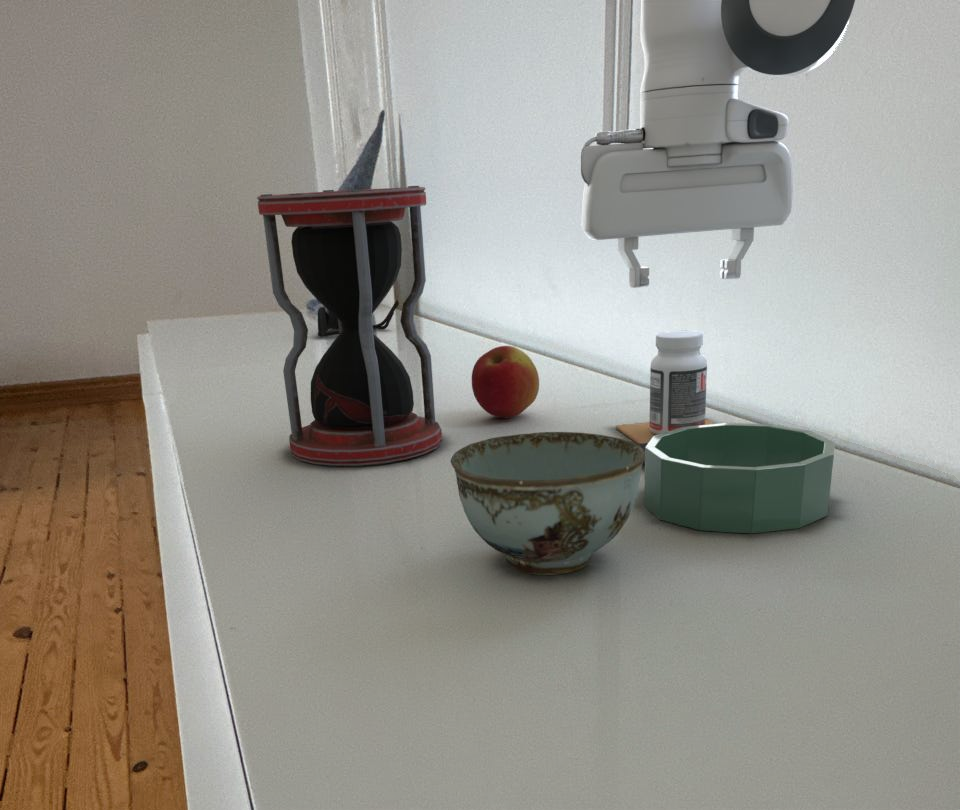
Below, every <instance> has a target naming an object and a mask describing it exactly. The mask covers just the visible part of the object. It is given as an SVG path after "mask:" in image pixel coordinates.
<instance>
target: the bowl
mask: <svg viewBox="0 0 960 810" xmlns="http://www.w3.org/2000/svg"><path fill="white" fill-rule="evenodd" d="M637 444H638V443H636V442H633V441H629V440H628V439H624V438H620V437H619V438H618V437H615V436H610V435H605V434H599V433H598V434H596V433H587V432H575V431H574V432H572V431H542V432H540V431H538V432H531V433H517V434H512V435H503V436H496V437H495V436H494V437H490V438H486V439H484V440H479V441H476V442H472V443H470V444H468V445H465V446H464V447H463V446H462V447H461V448H460V449H458V450H457V451H456V452H454V453H453V454H452V455H451V458H450V464H451V466H452V468H453V469H454V473H455V477H456V485H457V490H458V495H459V499H460V503H461V505H462V508H463V512H464V513H465V516H466V519H467V520H468V522H469V524H470V525H471V526H472V528H473V530H474V531H475V533H476V534H477V535H478V536H479V537H480V538H481V540H483V542H485V543H486V544H487V545H488V546H490V547H491V548H492V549H494V550H495V551H497V552H499V553H501V554H502V555H505V559H506V560H505V561H506V563H507V564H508V565H509V566H510V567H511V568H513V569H514V570H515V571H518V572H521V573H526V574H530V575H538V576H554V575H555V576H556V575H563V574H571V573H574V572H577V571H579V570H582V569H583V568H584V567H586V566H587V565H588V564H589V562H591V559H592V555H593V553H595V552H597V551H598V550H600V549H602V548H603V547H604V546H605V545H607V544H608V543H609V542H611V541H612V540H613V539H614V538H615V537H616V536H617V535H618V534H619V532H621V530H622V529H623V527H624V526H625V524H626V523H627V521H628V520H629V518H630V515H631V513H632V511H633V510H634V506H635V503H636V500H637V498H638V492H639V487H640V481H641V473H642V467H643V464H644V463H643V461H644V459H645V455H646V454H645V451H644V450H643V449H642V448H641V447H640V446H639V445H637Z"/></svg>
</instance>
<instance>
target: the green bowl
mask: <svg viewBox="0 0 960 810" xmlns="http://www.w3.org/2000/svg"><path fill="white" fill-rule="evenodd" d="M835 447H836V442H835V441H834V440H832V439H829V438H828V437H825V436H823V435H822V434H820V433H819V434H818V433H816V432H814V431H812V430H807V429H801V428H795V427H789V426H785V425H784V426H783V425H778V424H771V423H770V424H768V423H738V422H737V423H736V422H734V423H733V422H723V423H721V422H720V423H714V424H710V425H700V426H689V427H682V428H678V429H675V430H672V431H668V432H665V433H661V434H658V435H655V436H653V438H652V439H651V440H650V442H649V443H648V444H647V446H646V447H645V454H646V455H645V463H644V477H643V478H644V482H643V483H644V484H643V485H644V486H643V506H644V508H646V509H647V510H648V511H649V512H650V513H652V514H653V515H654V516H655V517H656V518H657V519H658V520H660V521H662V522H663V521H664V522H667V523H671V524H674V525H678V526H682V527H686V528H690V529H693V530H697V531H702V532H703V531H704V532H716V533H717V532H718V533H719V532H720V533H733V534H734V533H737V534H750V535H751V534H752V535H753V534H761V533H769V532H778V531H786V530H796V529H801V528H803V527H805V526H808V525H810V524H812V523H815V522H816V521H819V520H821V519H824V518H827V517H828V515H829V514H828V513H829V504H830V494H831V485H832V477H833V476H832V475H833V466H834V456H835Z"/></svg>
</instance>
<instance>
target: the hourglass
mask: <svg viewBox="0 0 960 810" xmlns="http://www.w3.org/2000/svg"><path fill="white" fill-rule="evenodd" d="M425 190H426V187H425V186H420V185H409V186H407V187H389V188H387V187H386V188H385V187H384V188H369V189H368V188H367V189H366V188H365V189H349V190H334V189H325V190H322V191H315V192H299V193H282V194H281V193H280V194H273V193H268V194H266V193H265V194H260V195H259V196H257V197H256V199H257V200H258V201H257V207H258V208H257V209H258V214H259V215H260V216H262V219H263V224H264V225H263V226H264V233H265V234H264V235H265V241H266V250H267V257H268V265H269V272H270V280H271V288H272V294H273V297H274V298H275V300H276V302H277V304H278V306H279V307H280V308H281V309H282V310H283V311H284V312H285V313H286V314H287V315H288V317H289V319H290V323H291V326H292V329H293V343H292V347H291V349H290V351H289V352H288V354H287V355H286V358H285V361H284V366H283V368H282V369H283V370H282V373H283V380H284V386H285V395H286V402H287V410H288V417H289V425H290V431H291V433H290V435H289V437H288V438H289V449H290V450H289V451H290V455H291V456H292V457H294V458H296V459H297V460H298V461H301V462H303V463H305V462H306V463H308V464H313V465H322V466H330V467H359V466H369V465H370V466H371V465H387V464H388V463H395V462H399V461H406V460H409V459H413V458H416V457H420V456H424V455H426V454H428V453H430V452H432V451H434V450H436V449H438V447H439V446H441V443H442V442H443V439H442V438H443V433H442V427H441V425H440V423H439V422H438V421H437V420H436V410H435V396H434V380H433V379H434V378H433V365H432V355H431V352H430V350H429V347H428V344H427V343H426V342H425V341H424V340H423V338H421V337H420V335H419V334H418V332H417V331H418V330H417V328H416V324H415V323H416V322H415V310H416V304H417V302H418V301H419V300H420V298H421V296H422V294H423V293H424V289H425V285H426V280H427V277H426V265H425V264H426V263H425V248H424V235H423V222H422V221H423V220H422V208H421V207H423V206H426V205H427V193H426V191H425ZM406 208H409V221H410V235H411V236H410V237H411V248H412V262H413V263H412V264H413V275H414V276H413V277H414V280H413V284H412V287H411V290H410V293H409V295H408V296H407V297H406V299H405V300H404V302H403V303H402V307H401V308H402V309H401V315H400V320H399V322H400V325H401V327H402V330H403V333H404V336H405V338H406V339H407V340H408V341H409V342H410V343H411V344H412V345H413V346H414V348H415V350H416V352H417V353H418V354H417V355H418V356H419V358H420V359H419V360H420V370H421V371H420V372H421V384H422V385H421V387H422V398H423V411H424V416H418V414H417V413H415V412H413V411H414V405H415V403H414V390H413V386H412V381H411V377H410V374H409V373H408V371H407V369H406V367H405V365H404V363H403V361H402V360H400V358H399V357H398V355H396V354H395V353H394V351H393V350H392V349H391V348H389V346H387V344H386V343H385V342H383V341H382V340H381V339H380V337H378V336H377V335H376V334H375V333H374V329H373V325H374V324H373V314H374V313H375V311H376V310H377V309H378V307H379V306H380V305H381V303H383V301H384V300H385V298H386V297H387V296H388V294H389V292H390V291H391V289H392V288H393V286H394V284H395V283H396V281H397V278H398V275H399V273H400V270H401V267H402V257H403V256H402V252H403V247H402V235H401V231H400V228H399V227H398V226H397V225H396V224H395V222H396V221H397V222H398V221H402V220H403V219H404V218H405V217H404V216H405V213H406ZM276 216H281V218H282V220H283V223H284V225H285V227H286V228H289V227H290V228H295V229H294V230H293V232H292V234H291V251H292V258H293V262H294V265H295V270H296V274H297V275H298V277H299V278H300V280H301V282H302V283H303V285H304V286H305V288H306V290H308V292H309V293H310V294H311V295H312V296H313V297H314V298H315V299H316V300H317V301H318V302H319V303H320V304H321V305H322V307H324V308H325V309H326V310H327V311H328V312H329V311H330V312H331V313H332V314H333V315H334V316H335V317H337V318H338V324H339V329H338V330H339V333H340V334H337V336H336V338H335V339H334V340H333V342H332V343H331V344H330V346H329V347H328V348H327V350H326V351H325V352H324V354H322V357H321V358H320V360H319V362H318V363H317V365H316V366H315V368H314V371H313V374H312V376H311V380H310V407H311V414H312V417H313V421H311V422H310V423H309V424H308V425H305V426H302V418H301V409H300V400H299V392H298V385H297V376H296V369H297V364H298V361H299V358H300V356H301V355H302V353H303V352H304V351H305V349H306V348H307V343H308V335H309V329H308V326H307V323H306V320H305V317H304V314H303V313H302V311H301V310H299V308H297V307H296V306H295V305H294V303H292V301H291V299H290V297H289V296H288V294H287V292H286V290H285V281H284V273H283V266H282V259H281V250H280V242H279V235H278V227H277V219H276Z"/></svg>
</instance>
